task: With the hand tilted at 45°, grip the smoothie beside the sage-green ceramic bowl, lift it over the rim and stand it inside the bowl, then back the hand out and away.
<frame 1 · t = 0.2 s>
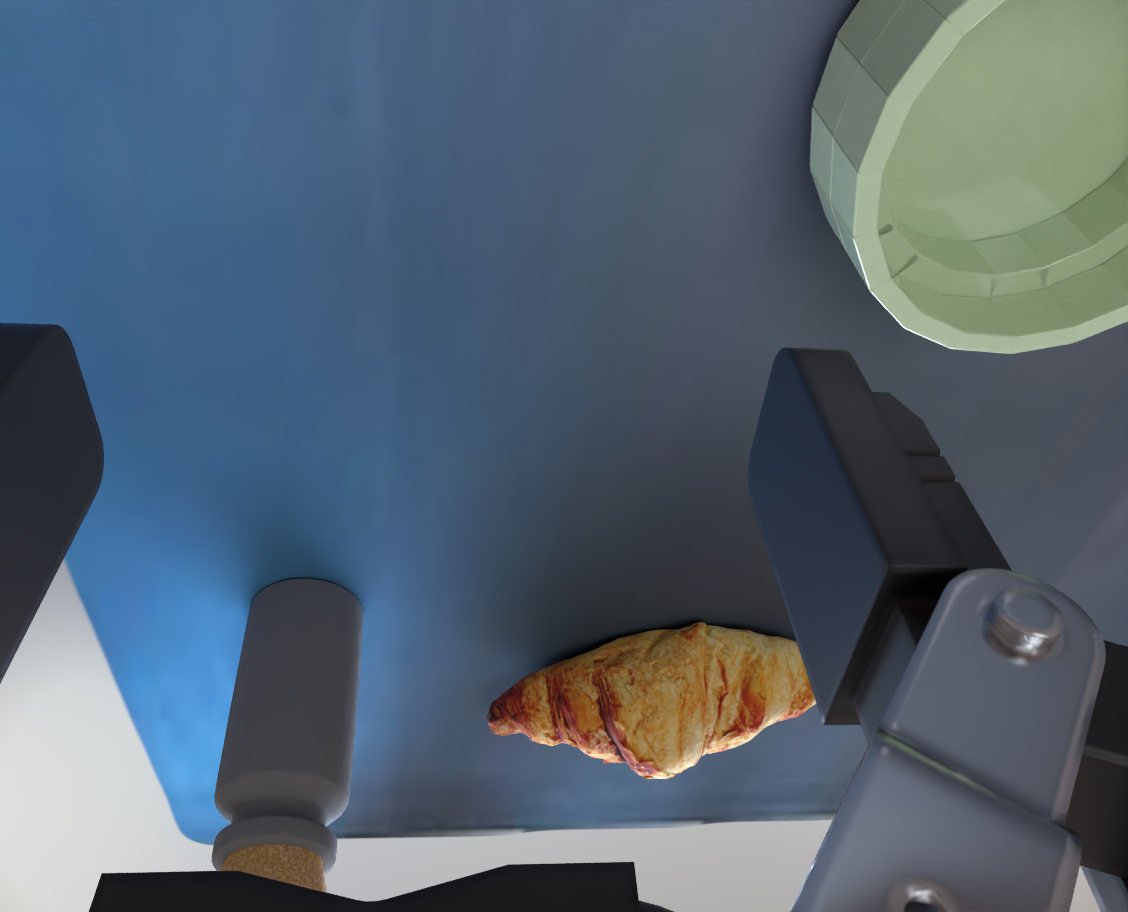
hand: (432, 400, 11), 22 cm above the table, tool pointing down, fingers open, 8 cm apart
croissant: (662, 663, 55), on the table
bottle: (308, 608, 49), on the table
bowl: (1012, 90, 32), on the table
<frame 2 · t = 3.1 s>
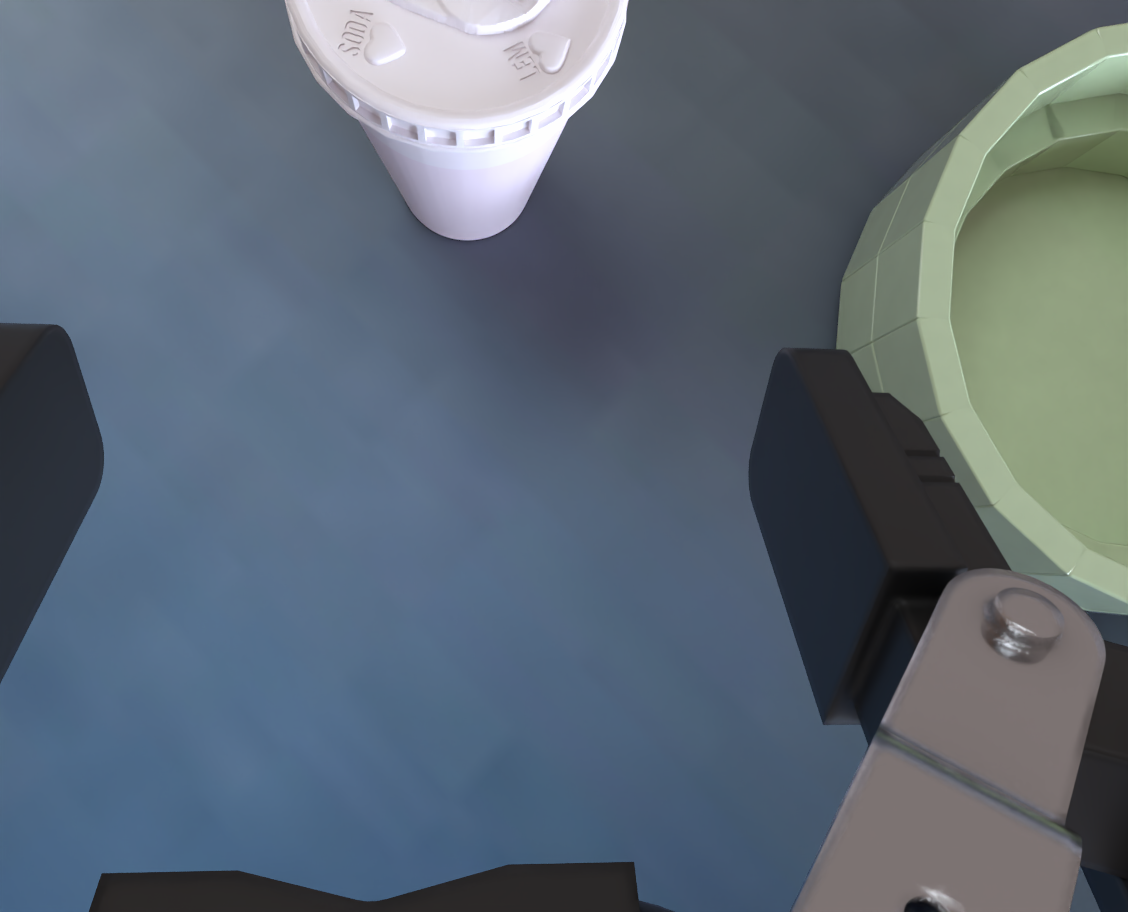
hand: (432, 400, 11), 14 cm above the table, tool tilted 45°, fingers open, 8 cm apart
smoothie: (466, 179, 26), on the table
bowl: (1069, 359, 27), on the table
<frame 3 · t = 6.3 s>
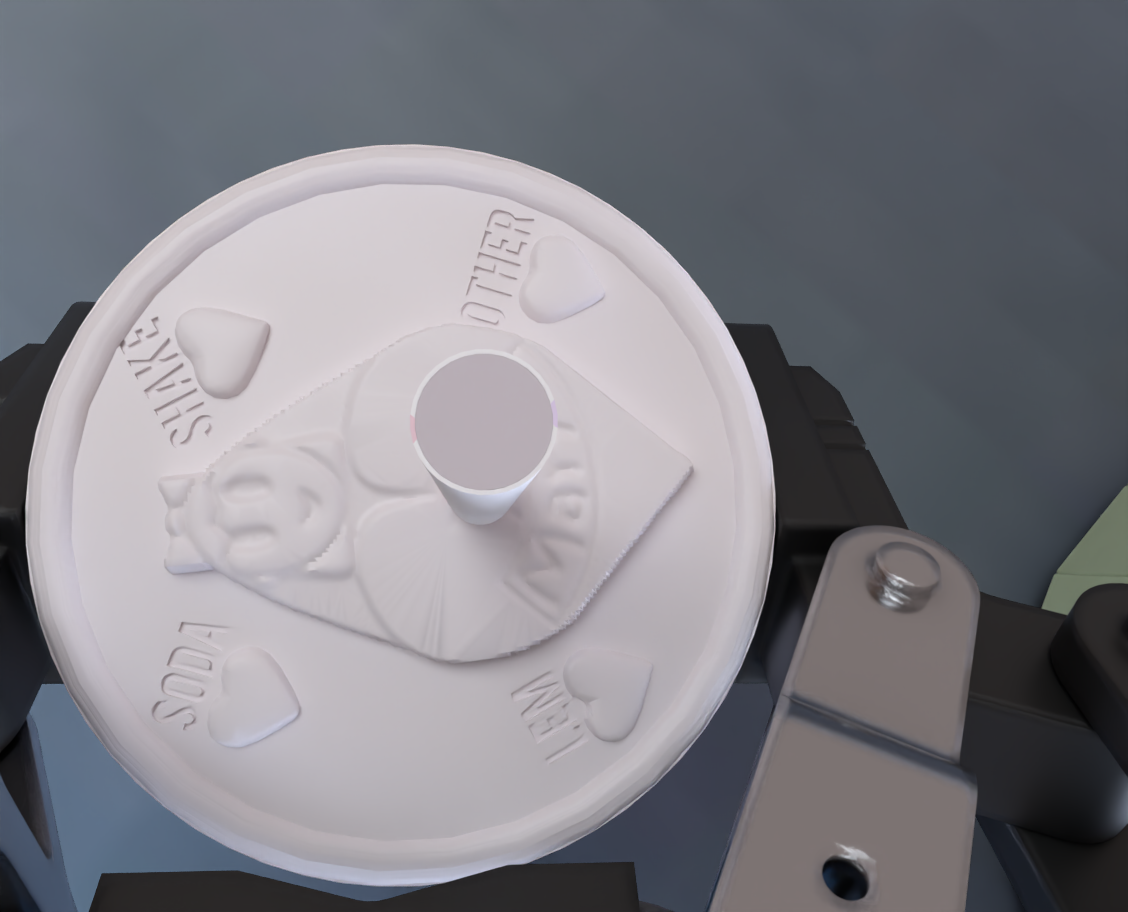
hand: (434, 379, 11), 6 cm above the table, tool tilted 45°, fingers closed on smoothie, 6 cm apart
smoothie: (448, 527, 17), on the table, touching gripper
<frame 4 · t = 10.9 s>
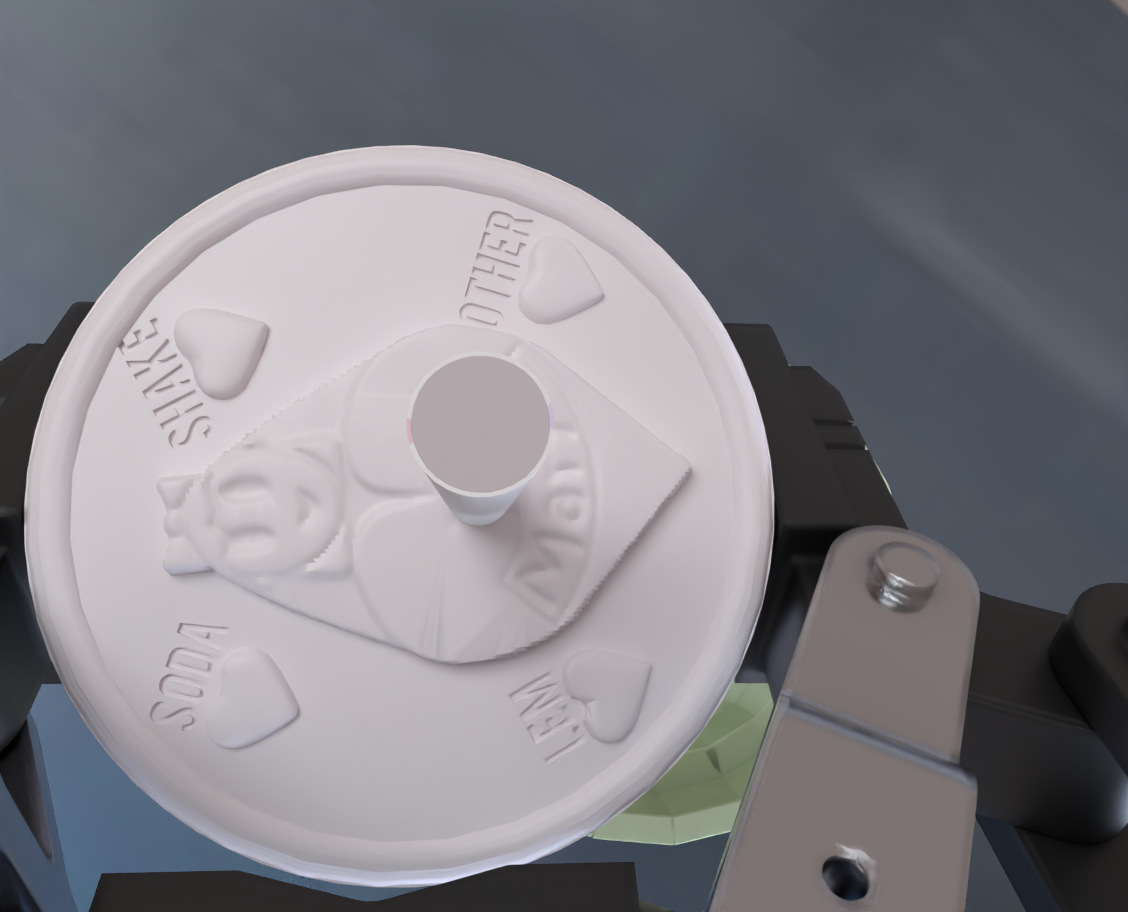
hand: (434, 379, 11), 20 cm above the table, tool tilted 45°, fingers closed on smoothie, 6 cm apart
smoothie: (448, 528, 17), point 14 cm above the table, touching gripper
bowl: (628, 571, 32), on the table
when the fingers open (7 cm above the table, at t = 15.9 s): smoothie stays where it is, resting on bowl.
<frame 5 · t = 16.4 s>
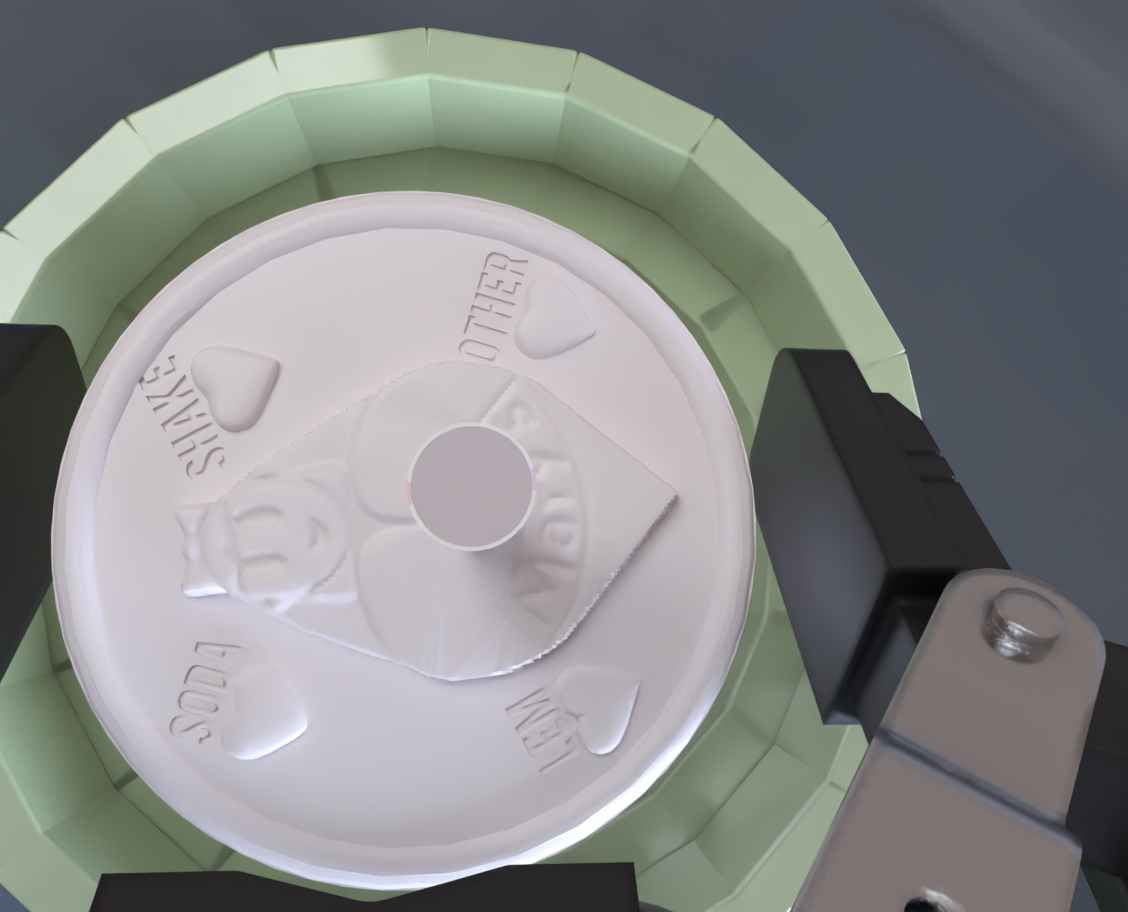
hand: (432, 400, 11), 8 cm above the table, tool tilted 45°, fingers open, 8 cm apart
smoothie: (450, 539, 18), resting on bowl
bowl: (453, 530, 18), on the table
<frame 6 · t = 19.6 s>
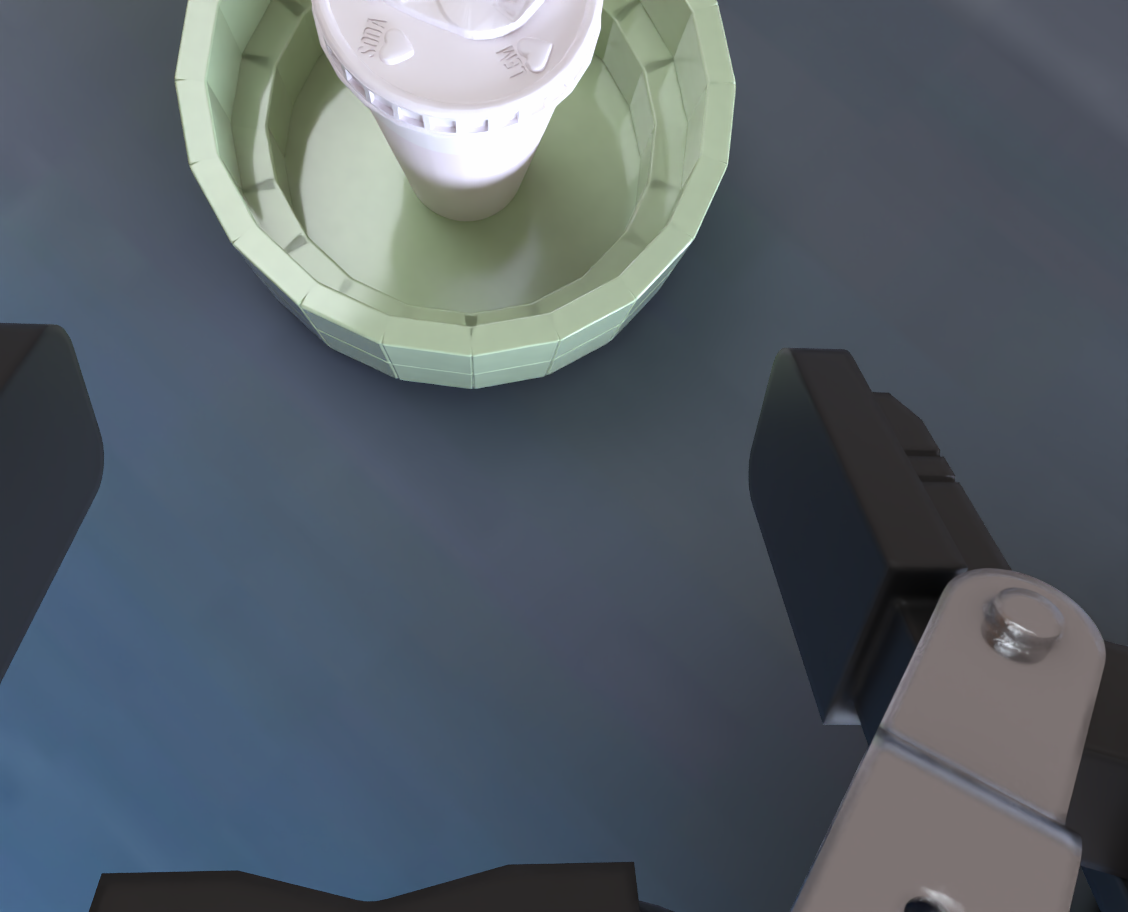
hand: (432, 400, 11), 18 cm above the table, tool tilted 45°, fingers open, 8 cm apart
smoothie: (465, 167, 29), resting on bowl
bowl: (466, 167, 30), on the table
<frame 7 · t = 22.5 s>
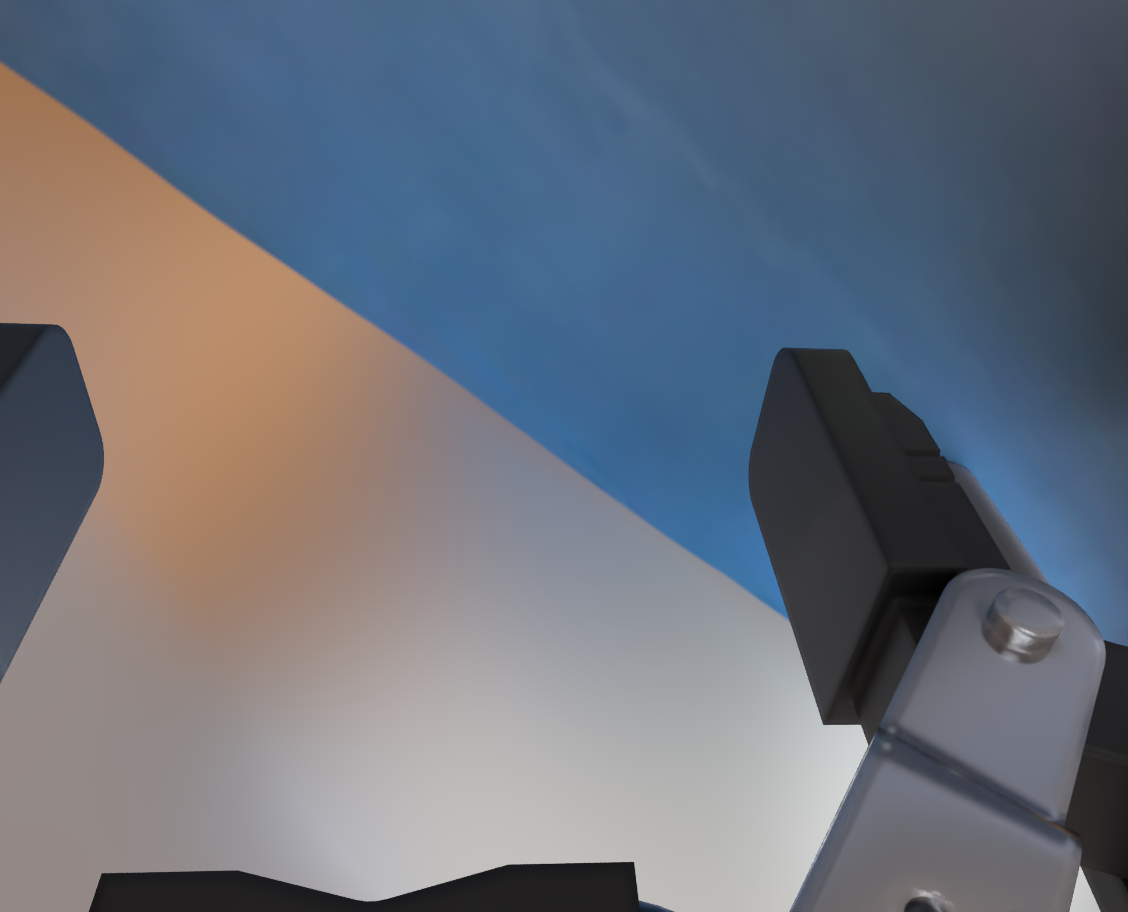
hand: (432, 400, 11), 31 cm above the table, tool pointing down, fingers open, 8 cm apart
bottle: (924, 500, 52), on the table
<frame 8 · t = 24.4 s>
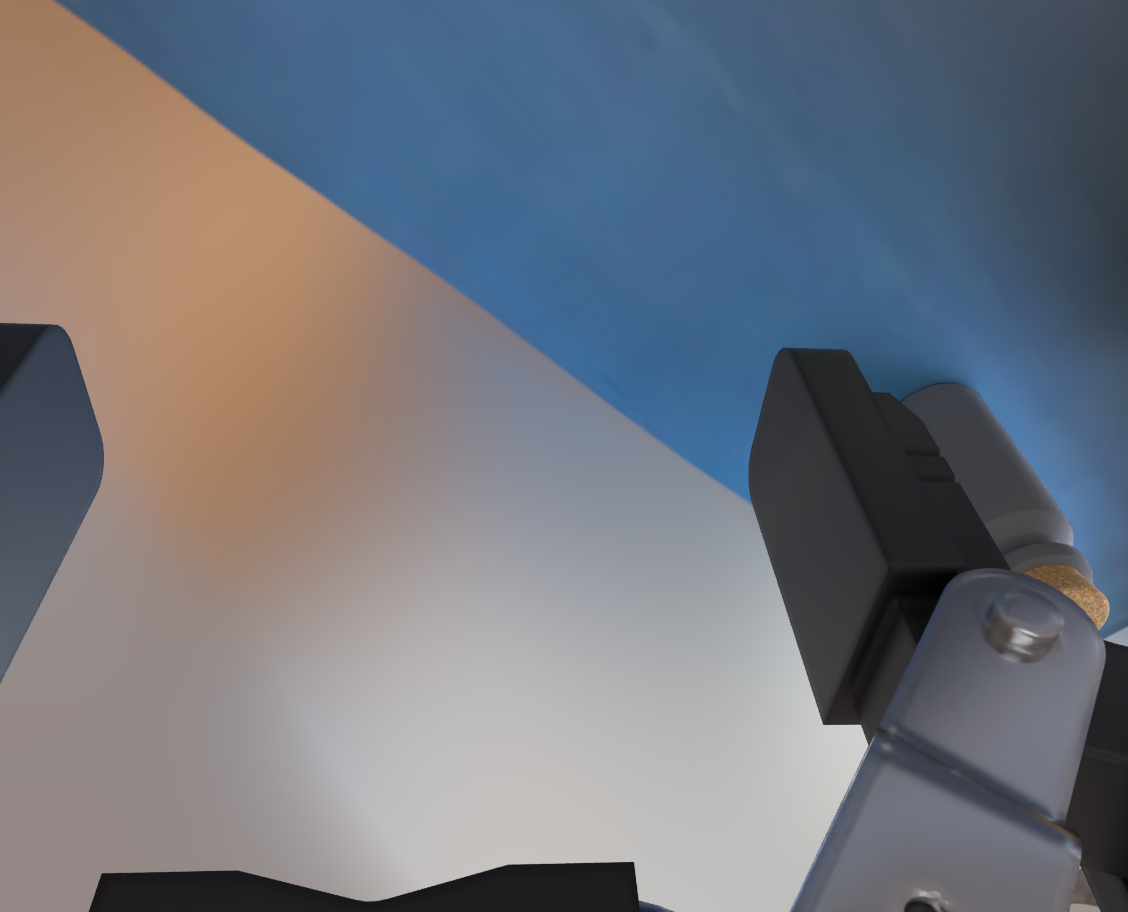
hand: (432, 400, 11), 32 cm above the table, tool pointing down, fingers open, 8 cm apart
bottle: (932, 421, 53), on the table
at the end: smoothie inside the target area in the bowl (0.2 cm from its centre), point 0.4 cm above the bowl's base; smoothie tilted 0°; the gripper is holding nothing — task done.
